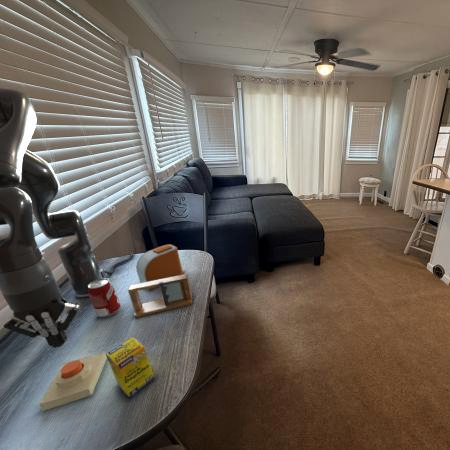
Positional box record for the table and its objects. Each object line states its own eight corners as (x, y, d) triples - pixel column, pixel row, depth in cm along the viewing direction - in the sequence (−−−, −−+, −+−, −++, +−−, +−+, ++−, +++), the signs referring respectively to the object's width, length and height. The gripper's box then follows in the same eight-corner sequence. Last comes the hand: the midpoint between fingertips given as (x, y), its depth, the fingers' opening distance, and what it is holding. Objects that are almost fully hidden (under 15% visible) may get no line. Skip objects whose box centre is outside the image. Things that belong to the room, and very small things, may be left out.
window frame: (138, 306, 86) (130, 283, 83) (192, 294, 92) (187, 272, 89) (134, 317, 81) (126, 293, 78) (191, 303, 87) (186, 280, 84)
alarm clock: (174, 268, 111) (168, 241, 106) (184, 273, 106) (178, 246, 102) (140, 283, 100) (131, 254, 95) (149, 290, 95) (140, 260, 90)
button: (67, 367, 60) (64, 362, 59) (85, 363, 61) (82, 357, 60) (60, 380, 57) (57, 375, 56) (79, 375, 58) (76, 370, 57)
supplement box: (130, 399, 56) (116, 365, 52) (118, 386, 59) (104, 353, 55) (155, 378, 61) (144, 346, 57) (143, 367, 64) (132, 335, 60)
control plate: (66, 369, 63) (60, 358, 62) (107, 358, 66) (102, 347, 65) (43, 410, 54) (35, 399, 52) (91, 395, 57) (86, 383, 55)
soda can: (108, 319, 80) (97, 290, 76) (92, 317, 82) (80, 288, 77) (125, 306, 87) (116, 278, 82) (110, 304, 88) (100, 276, 84)
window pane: (164, 301, 87) (157, 276, 83) (185, 296, 89) (179, 272, 85) (163, 310, 82) (155, 284, 79) (185, 305, 85) (178, 279, 81)
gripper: (75, 267, 55) (99, 325, 62) (-2, 280, 51) (32, 341, 57) (59, 285, 49) (88, 347, 55) (-31, 301, 44) (11, 367, 51)
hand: (59, 344), depth 56 cm, fingers closed
